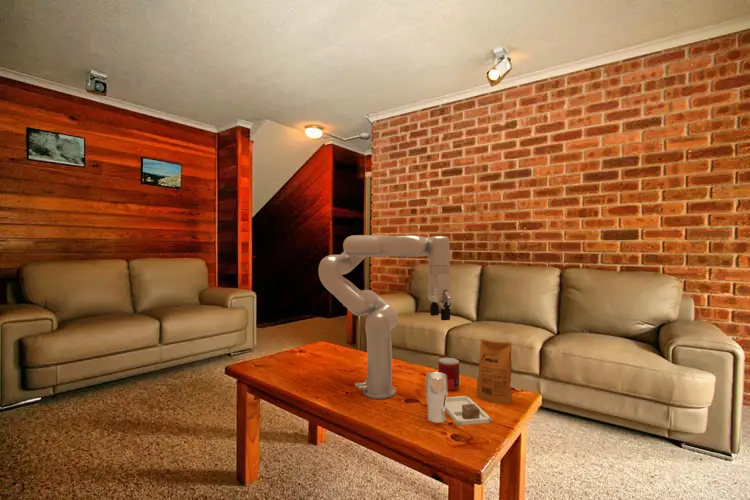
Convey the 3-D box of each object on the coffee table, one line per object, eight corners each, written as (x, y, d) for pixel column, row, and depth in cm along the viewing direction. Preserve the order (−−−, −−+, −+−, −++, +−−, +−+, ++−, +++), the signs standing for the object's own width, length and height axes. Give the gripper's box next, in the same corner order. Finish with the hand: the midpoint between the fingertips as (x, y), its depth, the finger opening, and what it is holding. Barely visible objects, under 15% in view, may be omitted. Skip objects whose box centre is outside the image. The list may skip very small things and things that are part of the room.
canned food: (459, 392, 139) (459, 363, 139) (438, 390, 141) (438, 362, 141) (458, 385, 147) (458, 358, 147) (438, 383, 149) (438, 356, 149)
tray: (458, 429, 111) (458, 421, 111) (437, 404, 129) (437, 397, 129) (491, 426, 113) (491, 418, 113) (467, 402, 130) (467, 395, 130)
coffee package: (480, 392, 140) (480, 335, 140) (514, 399, 133) (514, 339, 133) (473, 401, 131) (473, 340, 131) (509, 409, 125) (509, 345, 125)
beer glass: (423, 417, 119) (423, 371, 119) (444, 416, 119) (444, 371, 119) (428, 428, 112) (428, 379, 112) (450, 427, 112) (450, 378, 112)
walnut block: (467, 423, 112) (467, 410, 112) (462, 417, 116) (462, 404, 116) (479, 421, 113) (479, 409, 113) (473, 416, 117) (473, 403, 117)
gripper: (421, 269, 139) (421, 314, 139) (439, 271, 122) (439, 322, 122) (439, 269, 140) (440, 313, 140) (459, 271, 124) (460, 321, 124)
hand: (439, 317), depth 131 cm, fingers open, 9 cm apart
